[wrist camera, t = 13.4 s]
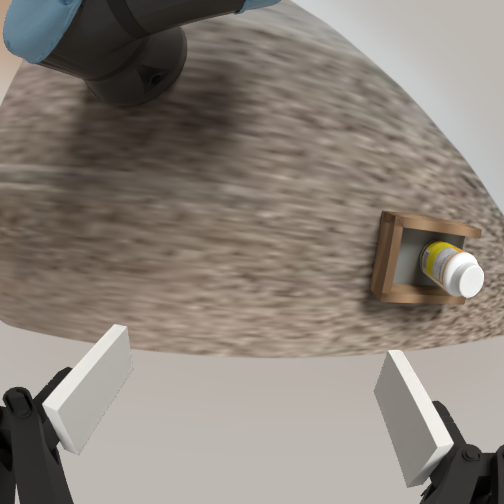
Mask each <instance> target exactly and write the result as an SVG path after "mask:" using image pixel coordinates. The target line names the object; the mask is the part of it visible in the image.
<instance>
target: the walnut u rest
mask: <svg viewBox="0 0 504 504" xmlns="http://www.w3.org/2000/svg"><path fill="white" fill-rule="evenodd" d="M481 231H482V230H481V229H478V228H476V227H473V226H470V225H468V224H465V223H460V222H454V221H448V220H442V219H436V218H430V217H424V216H417V215H411V214H404V213H397V212H390V211H382V218H381V225H380V232H379V239H378V245H377V251H376V257H375V262H374V268H373V273H372V278H371V284H370V289H371V290H372V292H373V293H374V294H375V296H376V297H377V298H378V300H379V301H380V302H396V303H424V304H464V303H465V300H466V297H464V296H459V297H456V296H452V295H450V294H449V293H448V292H446V291H445V290H444V289H443V288H442V287H440V286H439V285H438V284H436V283H435V282H434V281H433V280H431V279H430V278H429V277H428V276H426V275H425V274H424V273H423V271H422V270H421V267H420V255H421V252H422V250H423V249H424V247H425V246H426V245H427V244H428V243H429V242H431V241H433V240H442V241H445V242H447V243H449V244H451V245H453V246H455V247H457V248H459V249H461V250H462V249H463V244H464V238H465V236H468V237H475V238H480V237H481Z"/></svg>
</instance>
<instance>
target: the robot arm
mask: <svg viewBox="0 0 504 504" xmlns="http://www.w3.org/2000/svg"><path fill="white" fill-rule="evenodd" d="M280 1H281V0H12V2H11V4H10V6H9V9H8V11H7V14H6V17H5V22H4V28H3V38H4V43H5V46H6V48H7V49H8V51H10V52H11V53H12V54H14V55H16V56H18V57H21V58H23V59H25V60H26V61H28V63H31V64H38V65H41V66H44V67H48V68H51V69H54V70H57V71H60V72H63V73H66V74H69V75H72V76H75V77H78V78H81V79H83V80H84V81H85V82H86V83H87V85H88V87H89V88H90V90H91V91H92V92H93V94H94V95H95V96H97V97H98V98H99V99H101V100H102V101H104V102H107V103H110V104H113V105H116V106H123V107H129V106H136V105H140V104H143V103H145V102H148V101H150V100H152V99H154V98H155V97H157V96H158V95H160V94H161V93H162V92H164V91H165V90H166V89H167V88H168V87H169V86H170V85H171V84H172V83H173V81H174V80H175V79H176V78H177V76H178V75H179V73H180V71H181V69H182V67H183V65H184V62H185V59H186V54H187V40H186V36H185V34H184V32H183V30H182V28H181V27H180V26H182V25H185V24H189V23H193V22H196V21H200V20H204V19H208V18H213V17H217V16H222V15H227V14H232V13H234V14H241V13H243V12H244V11H246V10H251V9H256V8H262V7H267V6H272V5H275V4H277V3H278V2H280ZM132 371H133V363H132V357H131V351H130V344H129V337H128V329H127V327H126V326H121V325H116V324H114V325H113V326H112V327H111V328H110V329H109V330H108V331H107V333H106V334H105V335H104V336H103V337H102V338H101V339H100V340H99V341H98V342H97V343H96V344H95V346H94V347H92V349H91V350H90V351H89V352H88V353H87V354H86V355H85V356H84V357H83V358H82V359H81V361H80V362H79V363H78V364H77V365H76V366H75V367H74V368H70V367H67V368H65V369H63V370H61V371H59V372H58V373H57V374H56V375H55V376H54V377H53V379H52V380H51V381H50V382H49V383H48V385H46V386H45V387H44V388H43V389H42V391H40V393H39V394H38V395H37V396H36V397H35V398H34V399H32V397H31V394H30V392H29V391H28V390H27V389H26V388H23V387H14V388H11V389H9V390H8V391H6V393H5V394H4V396H3V401H4V403H5V405H6V407H3V406H0V504H15V489H16V484H17V490H18V495H19V500H20V504H74V503H73V500H72V497H71V495H70V491H69V488H68V485H67V482H66V478H65V475H64V471H63V467H62V464H61V460H60V456H59V452H58V449H57V447H56V446H57V444H58V443H59V441H60V442H61V444H62V446H63V448H64V449H65V450H67V451H70V452H72V453H74V454H77V455H79V454H80V453H81V451H82V449H83V448H84V446H85V444H86V443H87V441H88V440H89V438H90V436H91V434H92V433H93V432H94V430H95V428H96V427H97V425H98V424H99V422H100V420H101V419H102V417H103V416H104V414H105V412H106V411H107V409H108V408H109V406H110V405H111V403H112V402H113V400H114V398H115V397H116V395H117V394H118V392H119V391H120V389H121V388H122V386H123V385H124V383H125V381H126V380H127V378H128V377H129V375H130V374H131V372H132ZM374 394H375V396H376V399H377V402H378V404H379V407H380V410H381V412H382V415H383V418H384V421H385V423H386V426H387V429H388V432H389V435H390V437H391V440H392V443H393V446H394V449H395V452H396V455H397V458H398V461H399V464H400V467H401V470H402V472H403V476H404V479H405V482H406V486H407V488H408V487H413V486H418V485H422V484H423V483H424V482H425V481H426V480H427V478H428V477H430V479H431V482H432V483H431V484H430V485H429V486H428V487H427V489H426V490H425V491H424V492H423V493H422V495H421V496H423V495H424V496H423V499H422V500H421V502H420V504H504V445H502V446H500V447H499V449H498V450H497V451H496V453H482V452H481V450H480V449H479V448H478V447H476V446H474V445H470V444H466V442H465V440H464V438H463V437H462V435H461V433H460V431H459V429H458V428H457V426H456V424H455V423H454V420H453V419H452V417H451V416H450V414H449V412H448V410H447V408H446V407H445V406H444V405H443V404H441V403H440V402H439V401H431V400H430V398H429V397H428V395H427V393H426V391H425V389H424V388H423V386H422V384H421V382H420V381H419V379H418V377H417V376H416V374H415V372H414V371H413V369H412V367H411V366H410V364H409V362H408V361H407V359H406V357H405V356H404V354H403V352H402V351H401V350H388V352H387V355H386V358H385V361H384V364H383V367H382V370H381V373H380V375H379V378H378V381H377V384H376V386H375V389H374Z"/></svg>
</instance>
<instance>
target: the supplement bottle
mask: <svg viewBox="0 0 504 504" xmlns="http://www.w3.org/2000/svg"><path fill="white" fill-rule="evenodd" d="M420 267H421V270H422V271H423V273H424V274H425V275H426V276H428V277H429V278H430V279H431V280H433V281H434V282H435V283H436V284H438V285H439V286H440V287H442V288H443V289H444V290H445V291H446V292H448V293H449V294H450V295H452V296H456V297H459V296H464V297H466V298H470V297H473V296H474V295H476V294H477V293H478V292H479V290H480V289H481V287H482V285H483V281H484V273H483V270H482V269H481V268H480V267H479V266H478V263H477V261H476V259H475V258H474V257H473V256H472V255H471V254H469V253H467V252H465V251H463V250H461V249H459V248H457V247H455V246H453V245H451V244H449V243H447V242H445V241H442V240H433V241H431V242H429V243H428V244H427V245H426V246H425V247H424V249H423V250H422V252H421V255H420Z"/></svg>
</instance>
